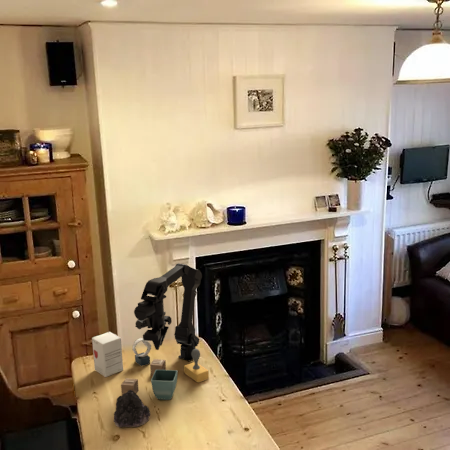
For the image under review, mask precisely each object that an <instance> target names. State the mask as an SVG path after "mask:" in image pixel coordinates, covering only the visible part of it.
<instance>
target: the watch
mask: <svg viewBox="0 0 450 450" xmlns="http://www.w3.org/2000/svg"><path fill="white" fill-rule="evenodd" d="M140 342H142V343H143V345H144V346H145V347H146V351H145V352H140V353H138V351H137V348H136V347H137V345H138V344H139V343H140ZM151 350H152V345H151V343H150V341H146V340H143V337H139V338H137V339H136V340H135V341H134V342H133V344H132V352H133V353H134V354H135V355H134V362H135V363H136V364H137V365H138V366H140V367H145V366H146V365H149V364H151V357H150V356H149V353H151Z"/></svg>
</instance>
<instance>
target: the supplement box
mask: <svg viewBox="0 0 450 450" xmlns="http://www.w3.org/2000/svg"><path fill="white" fill-rule="evenodd" d="M91 343H92V353H93V364H94V366H93V367H94V371H96V372H97V373H99V375H102V376H103V377H104V378H107V377H110V376H112V375H114V374H117V373H119V372H122V371H124V364H123V360H124V359H123V351H122V350H123V349H122V347H123V346H122V345H123V344H122V337H120V336H118V335H117V334H116V333H113V332H111V331H107V332H105V333H103V334H100V335H96V336H95V335H94V336H93V337H91Z"/></svg>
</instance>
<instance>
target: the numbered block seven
mask: <svg viewBox="0 0 450 450" xmlns="http://www.w3.org/2000/svg"><path fill="white" fill-rule="evenodd" d="M149 366H150V367H149V368H150V370H149V371H150V376H151V377H153V374H154V372H155V370H167V362H166V359H161V358H160V359H159V358H153V360H152V361H151V362H150V365H149Z"/></svg>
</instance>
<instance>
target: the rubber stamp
mask: <svg viewBox="0 0 450 450" xmlns="http://www.w3.org/2000/svg"><path fill="white" fill-rule="evenodd" d="M191 354H192V358H193V359H192V361H193V362H190V363H188V364H185V365H183V366H184V367H183V369H184V371H183V373H184V374H185V375H186V376H188V377H189V378H190V379H192V381H193V380H194V381H195V382H196V383H201V382H203V381H207V380H209V378H210V377H209V376H210V375H209V370H208V369H207V368H205V367H204V366H202V365H201V364H200V363H199V360H200V357H201V352H200V350H199V349H198V348H196V349H193V350H192V353H191Z"/></svg>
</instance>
